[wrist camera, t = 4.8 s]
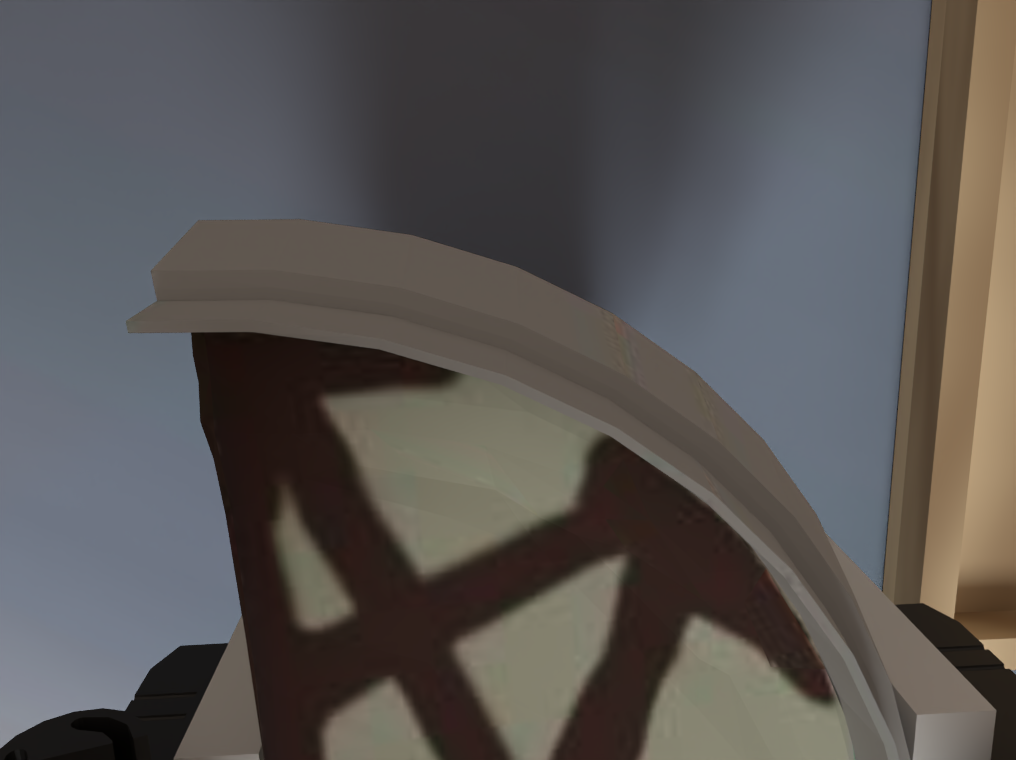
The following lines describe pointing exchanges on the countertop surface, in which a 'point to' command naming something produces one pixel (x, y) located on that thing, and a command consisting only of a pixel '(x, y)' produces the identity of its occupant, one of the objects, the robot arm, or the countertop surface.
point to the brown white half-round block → (501, 519)
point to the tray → (961, 337)
